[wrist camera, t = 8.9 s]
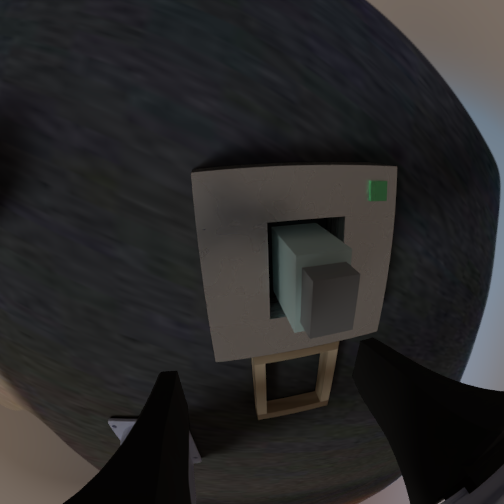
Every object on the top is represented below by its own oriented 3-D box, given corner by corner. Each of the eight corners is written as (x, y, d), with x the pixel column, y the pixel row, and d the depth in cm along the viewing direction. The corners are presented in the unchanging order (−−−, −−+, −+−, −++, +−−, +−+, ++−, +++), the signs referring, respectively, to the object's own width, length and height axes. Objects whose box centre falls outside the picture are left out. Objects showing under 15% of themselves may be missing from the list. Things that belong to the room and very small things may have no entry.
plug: (313, 284, 20) (355, 338, 14) (273, 290, 20) (303, 349, 14) (315, 222, 18) (367, 260, 12) (271, 226, 18) (307, 268, 12)
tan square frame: (321, 394, 25) (327, 404, 23) (255, 408, 24) (258, 419, 22) (331, 330, 22) (339, 341, 20) (250, 344, 21) (254, 357, 20)
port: (362, 314, 22) (378, 332, 19) (213, 339, 20) (216, 364, 18) (375, 162, 18) (399, 166, 15) (192, 169, 16) (190, 173, 13)
